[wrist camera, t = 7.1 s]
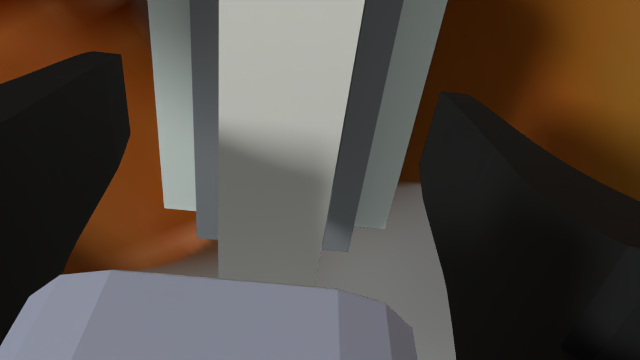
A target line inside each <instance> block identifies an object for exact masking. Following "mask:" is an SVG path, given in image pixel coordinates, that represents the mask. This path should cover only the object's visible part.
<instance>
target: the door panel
mask: <svg viewBox="0 0 640 360" xmlns="http://www.w3.org/2000/svg"><path fill="white" fill-rule="evenodd" d="M364 3H365V0H219V144H218V278H221V279H232V280H244V281H255V282H267V283H278V284H290V285H301V286H313V287H315V282H316V277H317V271H318V265H319V260H320V254H321V248H322V242H323V237H324V231H325V225H326V220H327V214H328V208H329V203H330V197H331V191H332V185H333V180H334V174H335V168H336V163H337V157H338V151H339V145H340V140H341V134H342V128H343V123H344V117H345V111H346V105H347V100H348V94H349V88H350V83H351V77H352V71H353V65H354V60H355V54H356V48H357V43H358V37H359V31H360V25H361V20H362V14H363V8H364Z"/></svg>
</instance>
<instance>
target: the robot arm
mask: <svg viewBox="0 0 640 360" xmlns="http://www.w3.org/2000/svg"><path fill="white" fill-rule="evenodd" d="M129 137H130V125H129V117H128V109H127V100H126V92H125V84H124V75H123V67H122V59H121V55H120V54H111V53H103V52H94V51H92V52H87V53H83V54H80V55H77V56H74V57H71V58H68V59H65V60H63V61H60V62H58V63H55V64H52V65H50V66H47V67H45V68H42V69H40V70H37V71H34V72H32V73H29V74H27V75H24V76H22V77H19V78H16V79H13V80H10V81H8V82H5V83H2V84H0V360H417V354H416V348H415V342H414V336H413V330H412V327H411V326H409V325H408V324H407V323H406V322H405V321H404V320H403V319H402V318H401V317H400V316H399V315H398V314H397V313H396V312H394V311H393V310H392V309H391V308H390V307H389V306H388V305H387V304H386V303H384V302H382V301H379V300H376V299H372V298H368V297H365V296H361V295H358V294H354V293H350V292H347V291H343V290H340V289H336V288H324V287H313V286H301V285H290V284H278V283H267V282H255V281H244V280H232V279H221V278H209V277H208V278H207V277H197V276H186V275H173V274H162V273H151V272H140V271H128V270H117V269H115V270H105V271H94V272H84V273H74V274H64V275H62V272H63V270H64V267H65V265H66V263H67V260H68V258H69V256H70V254H71V252H72V250H73V248H74V246H75V244H76V242H77V240H78V238H79V236H80V235H81V233H82V231H83V229H84V228H85V226H86V224H87V222H88V221H89V219H90V217H91V215H92V214H93V212H94V210H95V208H96V207H97V205H98V203H99V201H100V200H101V198H102V196H103V194H104V193H105V191H106V189H107V187H108V185H109V184H110V182H111V180H112V178H113V176H114V175H115V173H116V171H117V169H118V167H119V164H120V162H121V159H122V157H123V154H124V151H125V148H126V145H127V142H128V140H129ZM419 167H420V178H421V187H422V195H423V201H424V205H425V209H426V212H427V216H428V220H429V223H430V227H431V231H432V234H433V238H434V241H435V245H436V249H437V253H438V256H439V260H440V263H441V267H442V270H443V274H444V279H445V283H446V288H447V294H448V301H449V307H450V314H451V321H452V328H453V336H454V344H455V352H456V360H640V201H637V200H635V199H633V198H631V197H629V196H626V195H624V194H622V193H620V192H618V191H616V190H614V189H612V188H610V187H608V186H605V185H603V184H602V183H600V182H598V181H596V180H594V179H592V178H590V177H589V176H587V175H585V174H583V173H581V172H580V171H578V170H576V169H574V168H572V167H571V166H569V165H567V164H566V163H564V162H563V161H561V160H559V159H558V158H556V157H555V156H553V155H552V154H550V153H549V152H547V151H546V150H544V149H543V148H541V147H540V146H538V145H537V144H535V143H534V142H533V141H531V140H530V139H528V138H527V137H525V136H524V135H523V134H521V133H520V132H519V131H517V130H516V129H515V128H513V127H512V126H511V125H509V124H508V123H507V122H505V121H504V120H503V119H501V118H500V117H499V116H497V115H496V114H495V113H494V112H492V111H491V110H490V109H488V108H487V107H485V106H484V105H483V104H481V103H480V102H478V101H477V100H475V99H474V98H472V97H470V96H468V95H466V94H457V93H449V92H440V96H439V99H438V102H437V106H436V109H435V112H434V116H433V119H432V123H431V126H430V129H429V133H428V136H427V139H426V143H425V146H424V150H423V153H422V156H421V160H420V163H419Z"/></svg>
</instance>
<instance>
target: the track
mask: <svg viewBox="0 0 640 360" xmlns="http://www.w3.org/2000/svg"><path fill="white" fill-rule="evenodd" d="M147 1H148V14H149V26H150V38H151V50H152V63H153V75H154V87H155V99H156V112H157V124H158V136H159V148H160V161H161V173H162V185H163V197H164V208H169V209H180V210H190V211H196V221H197V238H204V239H215V240H218V144H219V0H147ZM447 1H448V0H365V3H364V8H363V14H362V20H361V25H360V31H359V37H358V43H357V48H356V54H355V60H354V65H353V71H352V77H351V83H350V88H349V94H348V100H347V105H346V111H345V117H344V123H343V128H342V134H341V140H340V145H339V151H338V157H337V163H336V168H335V174H334V180H333V185H332V191H331V197H330V203H329V208H328V214H327V220H326V225H325V231H324V237H323V242H322V246H323V247H322V249H323V250H331V251H342V252H348V250H349V245H350V240H351V236H352V232H353V227H363V228H374V229H384V230H385V228H386V224H387V221H388V217H389V213H390V210H391V206H392V202H393V199H394V195H395V191H396V188H397V184H398V180H399V177H400V173H401V169H402V166H403V162H404V158H405V155H406V151H407V147H408V144H409V140H410V136H411V133H412V129H413V125H414V122H415V118H416V115H417V111H418V107H419V104H420V100H421V96H422V93H423V89H424V85H425V82H426V78H427V74H428V71H429V67H430V63H431V60H432V56H433V52H434V49H435V45H436V41H437V38H438V34H439V30H440V27H441V23H442V19H443V16H444V12H445V8H446V5H447Z"/></svg>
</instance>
